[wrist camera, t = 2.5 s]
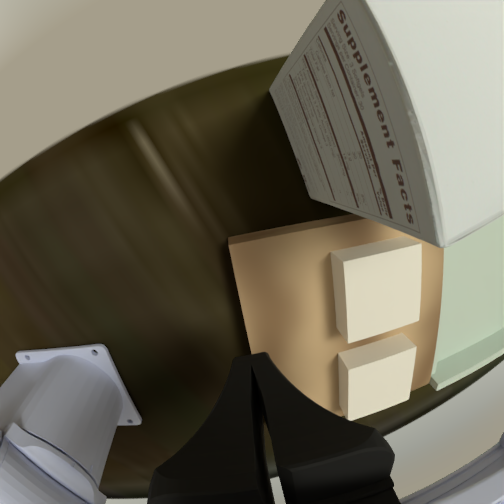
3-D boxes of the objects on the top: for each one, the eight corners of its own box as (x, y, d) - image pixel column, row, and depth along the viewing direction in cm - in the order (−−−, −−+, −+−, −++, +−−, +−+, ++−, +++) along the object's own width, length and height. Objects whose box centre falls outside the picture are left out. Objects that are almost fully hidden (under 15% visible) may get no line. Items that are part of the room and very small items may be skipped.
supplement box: (368, 64, 16) (507, -10, 4) (403, 168, 18) (565, 185, 6) (264, 87, 16) (340, -40, 4) (305, 202, 18) (445, 261, 6)
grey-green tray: (419, 372, 23) (436, 390, 20) (426, 182, 19) (453, 186, 16) (509, 326, 24) (526, 337, 21) (522, 172, 19) (545, 175, 16)
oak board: (266, 417, 22) (270, 434, 20) (227, 237, 18) (228, 245, 16) (418, 370, 23) (429, 382, 21) (425, 201, 19) (442, 204, 17)
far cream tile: (339, 404, 20) (347, 421, 18) (337, 352, 19) (348, 369, 17) (397, 384, 21) (408, 399, 19) (402, 332, 19) (416, 346, 17)
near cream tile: (336, 327, 18) (348, 343, 16) (330, 251, 17) (343, 261, 15) (403, 307, 19) (419, 320, 17) (403, 236, 17) (421, 243, 15)
